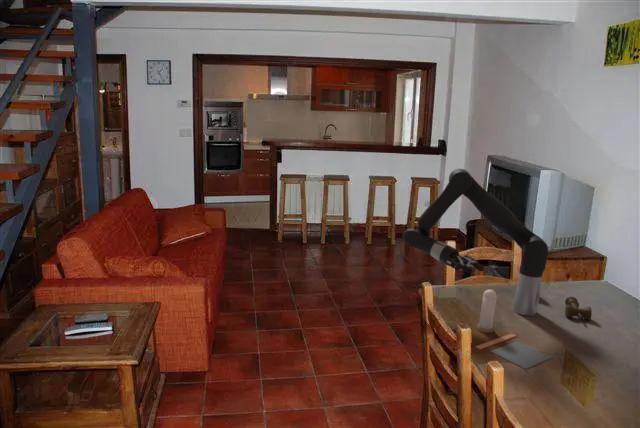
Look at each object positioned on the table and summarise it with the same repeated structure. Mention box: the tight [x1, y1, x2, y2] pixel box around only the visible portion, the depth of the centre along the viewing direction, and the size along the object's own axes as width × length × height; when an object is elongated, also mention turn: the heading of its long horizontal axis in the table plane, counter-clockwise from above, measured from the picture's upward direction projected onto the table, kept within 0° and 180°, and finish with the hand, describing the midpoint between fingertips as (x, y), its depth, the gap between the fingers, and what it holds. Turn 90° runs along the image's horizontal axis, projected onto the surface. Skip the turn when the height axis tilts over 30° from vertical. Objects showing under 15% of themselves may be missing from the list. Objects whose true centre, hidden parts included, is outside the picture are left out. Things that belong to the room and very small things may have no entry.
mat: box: [490, 341, 553, 370], centre depth 186 cm, size 16×14×1 cm
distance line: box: [475, 333, 517, 350], centre depth 195 cm, size 22×2×1 cm, turn 126°
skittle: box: [476, 289, 497, 334], centre depth 203 cm, size 6×6×16 cm
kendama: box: [564, 296, 593, 322], centre depth 225 cm, size 6×10×20 cm
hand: (477, 270), depth 206 cm, fingers open, 8 cm apart
